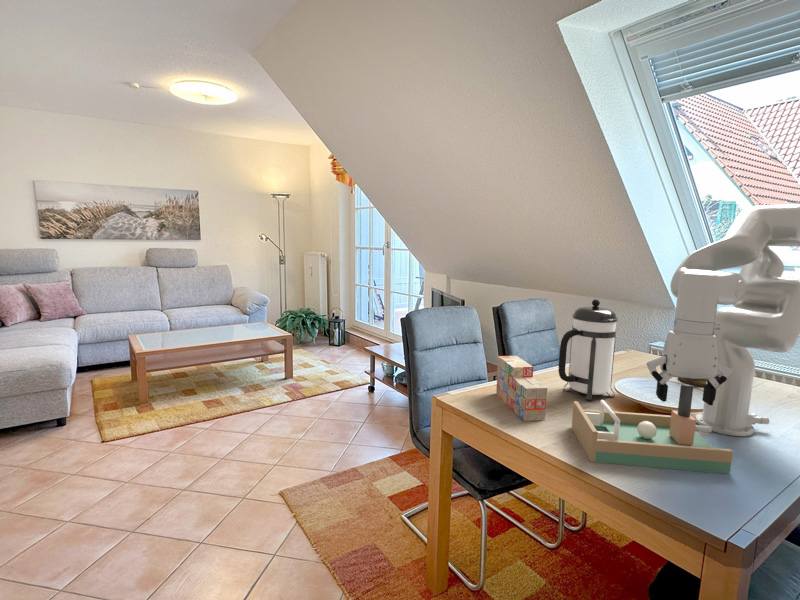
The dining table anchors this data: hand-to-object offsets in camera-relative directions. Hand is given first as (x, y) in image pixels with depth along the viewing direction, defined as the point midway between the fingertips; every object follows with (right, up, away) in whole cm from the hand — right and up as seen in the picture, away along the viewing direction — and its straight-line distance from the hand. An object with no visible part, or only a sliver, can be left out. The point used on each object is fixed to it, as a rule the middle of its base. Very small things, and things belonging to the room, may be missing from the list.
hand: (684, 401), depth 101 cm
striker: (+3, -9, +1) cm, 10 cm away
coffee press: (-6, -7, +38) cm, 39 cm away
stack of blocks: (-30, -8, +28) cm, 42 cm away
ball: (-7, -7, +2) cm, 11 cm away
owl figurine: (+40, -5, +54) cm, 67 cm away
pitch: (-8, -12, +3) cm, 14 cm away
